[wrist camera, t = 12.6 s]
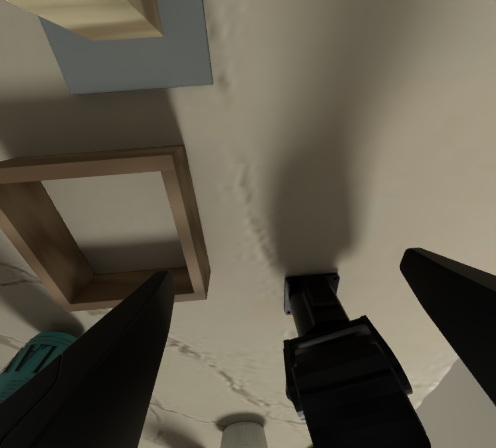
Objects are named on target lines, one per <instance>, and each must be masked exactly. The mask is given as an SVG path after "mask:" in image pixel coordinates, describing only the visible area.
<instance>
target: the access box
mask: <svg viewBox="0 0 496 448" xmlns="http://www.w3.org/2000/svg"><path fill="white" fill-rule="evenodd" d="M153 171H161V174H162V178H163V181H164V185H165V188H166V192H167V196H168V199H169V203H170V206H171V210H172V214H173V217H174V221H175V224H176V228H177V232H178V235H179V239H180V242H181V246H182V250H183V253H184V257H185V261H186V264H187V267H181V268H170V269H168V270H170V271H171V274H172V277H173V280H174V283H175V287H176V291H175V298H174V302H183V301H194V300H206V299H207V293H208V286H209V279H210V273H211V271H210V266H209V261H208V256H207V252H206V247H205V242H204V237H203V232H202V228H201V223H200V218H199V213H198V208H197V203H196V199H195V194H194V189H193V184H192V179H191V175H190V170H189V165H188V160H187V155H186V150H185V146H184V145H177V146H164V147H151V148H139V149H126V150H114V151H101V152H89V153H76V154H64V155H51V156H38V157H26V158H14V159H9V160H5V161H1V162H0V228H1V229H2V231H3V232H4V233H5V235H6V236H7V237H8V239H9V240H10V241H11V242H12V244H13V245H14V246H15V248H16V249H17V250H18V252H19V253H20V254H21V255H22V257H23V258H24V259H25V261H26V262H27V263H28V265H29V266H30V267H31V268H32V270H33V271H34V272H35V274H36V275H37V276H38V278H39V279H40V280H41V282H42V283H43V284H44V285H45V287H46V288H47V289H48V291H49V292H50V293H51V295H52V296H53V297H54V298H55V300H56V301H57V302H58V304H59V305H60V306H61V308H62V309H63V310H64V311H65V312H72V311H83V310H94V309H106V308H114V307H116V306H117V305H118V304H119V303H120V302H121V301H123V300H124V299H125V298H126V297H127V296H129V295H130V294H131V293H132V292H133V291H134V290H136V289H137V288H138V287H139V286H140V285H141V284H143V283H144V282H145V281H146V280H147V279H148V278H150V277H151V276H152V275H153V274H154V273H155V272H157V271H158V270H147V271H136V272H124V273H113V274H102V275H94V273H93V272H92V270H91V268H90V266H89V265H88V263H87V261H86V260H85V258H84V256H83V254H82V253H81V251H80V249H79V247H78V246H77V244H76V242H75V241H74V239H73V237H72V235H71V234H70V232H69V230H68V229H67V227H66V225H65V223H64V222H63V220H62V218H61V217H60V215H59V213H58V211H57V210H56V208H55V206H54V205H53V203H52V201H51V199H50V198H49V196H48V194H47V193H46V191H45V189H44V187H43V186H42V184H41V182H40V181H42V180H54V179H67V178H79V177H91V176H104V175H116V174H128V173H141V172H153ZM159 270H167V269H159Z"/></svg>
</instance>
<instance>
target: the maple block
mask: <svg viewBox="0 0 496 448" xmlns="http://www.w3.org/2000/svg"><path fill="white" fill-rule="evenodd" d="M5 1H7V2H10V3H12V4H14V5H16V6H18V7H20V8H23V9H25V10H27V11H29V12H31V13H34V14H36V15H38V16H40V17H42V18H44V19H47V20H49V21H51V22H53V23H55V24H57V25H60V26H62V27H64V28H66V29H68V30H71V31H73V32H75V33H77V34H79V35H81V36H84V37H86V38H88V39H90V40H92V41H102V40H117V39H133V38H148V37H164V35H163V30H162V25H161V20H160V15H159V10H158V5H157V0H5Z"/></svg>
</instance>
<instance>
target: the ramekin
mask: <svg viewBox="0 0 496 448" xmlns="http://www.w3.org/2000/svg"><path fill="white" fill-rule="evenodd" d="M220 448H268V447H267V442H266V437H265V432H264V429H263V428H262V426H261V425H260V424H258V423H254V422H238V423H234V424H231V425H229V426H227V427H226V428H225V430H224V431H223V434H222V440H221V447H220Z"/></svg>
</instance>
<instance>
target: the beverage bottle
mask: <svg viewBox="0 0 496 448" xmlns="http://www.w3.org/2000/svg"><path fill="white" fill-rule="evenodd" d="M76 340H77V338H75V337H74V336H72V335H69V334H66V333H62V332H55V331H48V332H42V333H39V334H37V335H36V336H35V337H34V338H32V339H31V340H30V341H29V340H28V341H29V342H27V344H25V345H26V346H25V347H24V348H23V347H22V348H23V349H22V348H21V349H20V350H21V351H19V352H20V353H19V352H18V353H19V354H18V353H17V354H16V356H15V357H14V358H13V360H12V359H11V360H12V361H11V360H10V361H11V362H9V363H10V364H9V363H8V364H9V365H8V366H7V367H6V366H5V368H3V370H4V369H5V370H4V371H3V370H2V371H3V372H2V371H1V372H2V373H1V372H0V373H1V374H0V403H1V402H2V401H4V400H5V399H6V398H7V397H9V396H10V395H11V394H12V393H14V392H15V391H16V390H18V389H19V388H20V387H21V386H22V385H24V384H25V383H26V382H27V381H28V380H30V379H31V378H32V377H33V376H34V375H36V374H37V373H38V372H39V371H40V370H42V369H43V368H44V367H45V366H46V365H48V364H49V363H50V362H51V361H52V360H53V359H55V358H56V357H57V356H58V355H60V354H62V352H63V351H64V350H65V349H66V348H68V347H69V346H70V345H71V344H72V343H73V342H75V341H76Z"/></svg>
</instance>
